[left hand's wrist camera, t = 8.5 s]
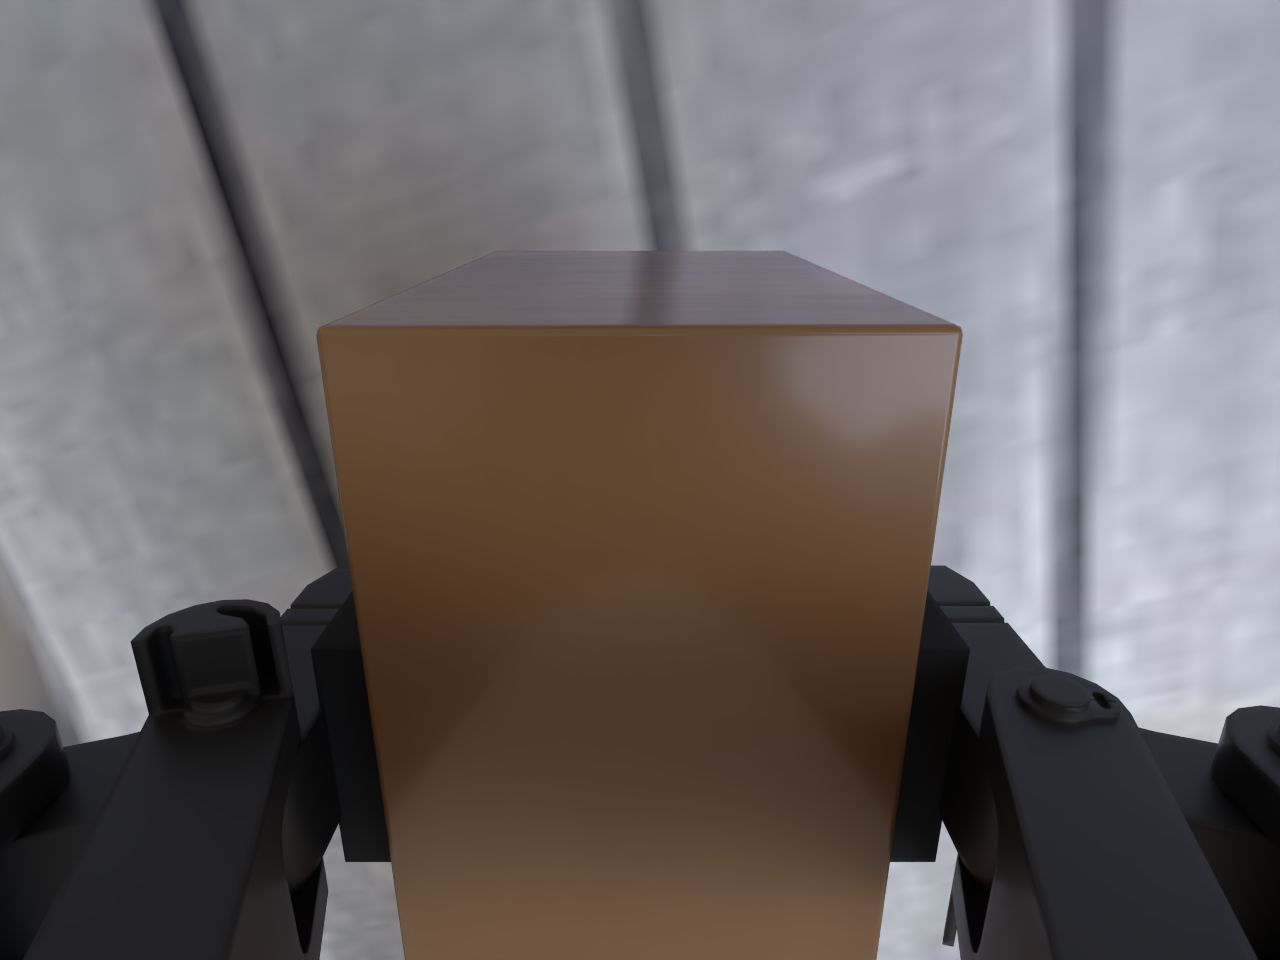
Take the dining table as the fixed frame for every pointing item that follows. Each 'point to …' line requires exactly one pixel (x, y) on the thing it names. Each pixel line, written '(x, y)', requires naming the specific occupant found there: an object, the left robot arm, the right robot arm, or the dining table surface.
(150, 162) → the dining table surface
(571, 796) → the beam
